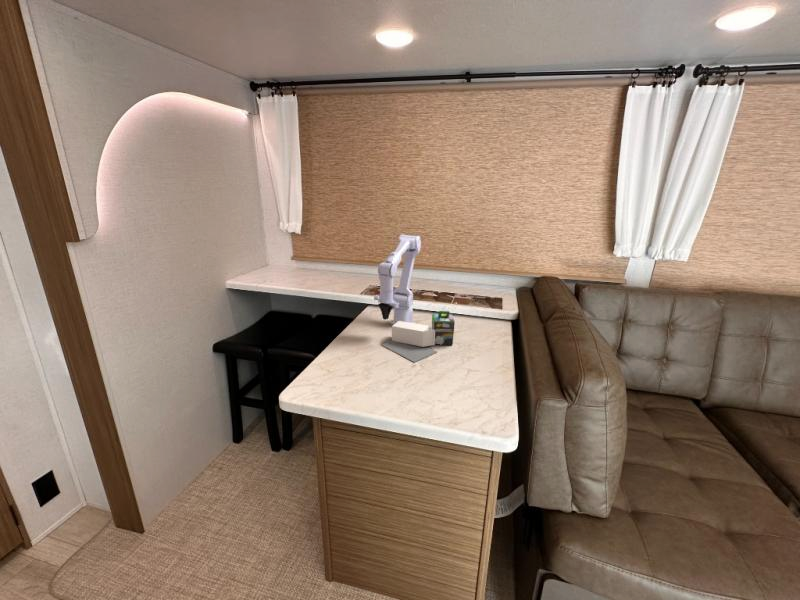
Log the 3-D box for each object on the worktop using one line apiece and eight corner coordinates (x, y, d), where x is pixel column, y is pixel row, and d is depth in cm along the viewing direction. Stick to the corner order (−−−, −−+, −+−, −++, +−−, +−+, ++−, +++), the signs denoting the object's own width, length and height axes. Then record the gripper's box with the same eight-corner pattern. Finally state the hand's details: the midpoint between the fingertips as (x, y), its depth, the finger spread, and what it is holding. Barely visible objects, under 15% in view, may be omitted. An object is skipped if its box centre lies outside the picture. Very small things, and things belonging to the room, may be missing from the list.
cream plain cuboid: (391, 340, 156) (431, 348, 148) (391, 326, 154) (432, 333, 146) (398, 335, 162) (437, 342, 155) (398, 320, 160) (437, 327, 152)
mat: (404, 336, 162) (404, 336, 162) (437, 352, 148) (437, 351, 148) (381, 345, 153) (381, 344, 152) (414, 362, 139) (414, 362, 139)
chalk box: (450, 336, 164) (452, 307, 159) (453, 345, 155) (456, 314, 150) (430, 336, 164) (432, 306, 159) (432, 345, 155) (434, 313, 150)
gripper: (368, 287, 156) (368, 316, 160) (390, 295, 146) (389, 325, 150) (381, 284, 161) (380, 312, 165) (403, 292, 151) (401, 322, 155)
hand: (385, 318), depth 158 cm, fingers closed
